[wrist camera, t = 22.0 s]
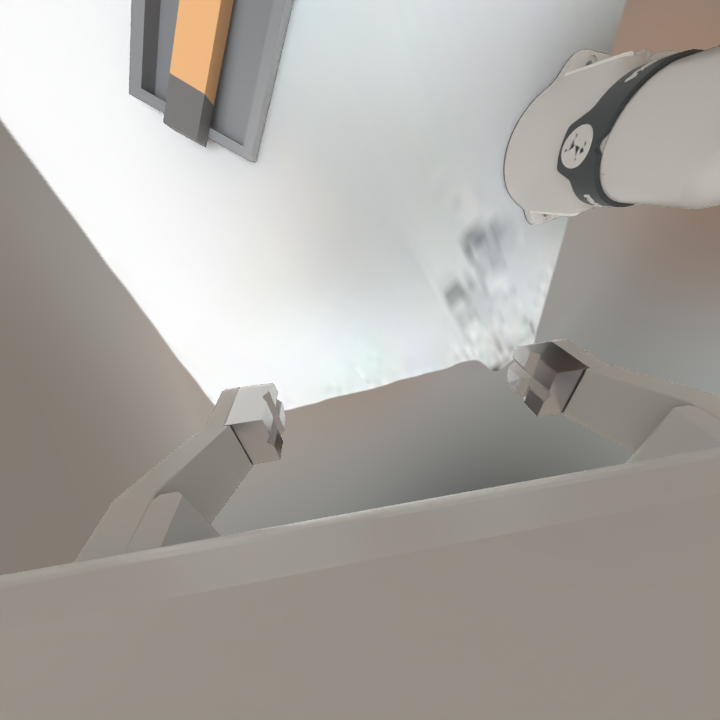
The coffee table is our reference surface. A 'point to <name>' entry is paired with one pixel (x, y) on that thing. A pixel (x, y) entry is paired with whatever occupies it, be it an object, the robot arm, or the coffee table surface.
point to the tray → (238, 70)
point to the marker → (196, 66)
